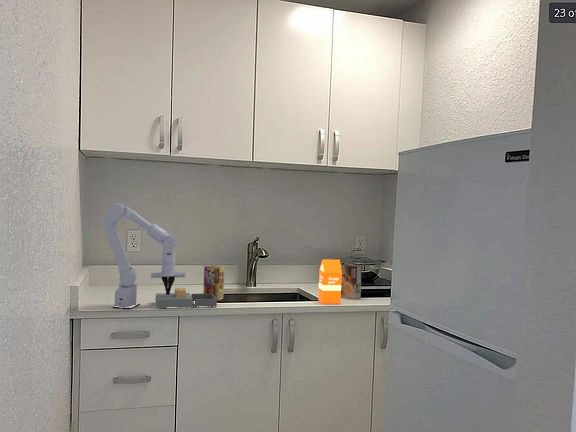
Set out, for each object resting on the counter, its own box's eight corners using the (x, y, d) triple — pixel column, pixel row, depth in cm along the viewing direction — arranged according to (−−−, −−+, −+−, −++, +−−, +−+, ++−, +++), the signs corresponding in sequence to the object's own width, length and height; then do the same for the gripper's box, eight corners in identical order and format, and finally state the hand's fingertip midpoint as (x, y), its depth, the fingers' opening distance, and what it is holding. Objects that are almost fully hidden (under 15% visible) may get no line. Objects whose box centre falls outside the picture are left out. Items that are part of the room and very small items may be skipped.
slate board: (157, 309, 213) (157, 299, 213) (155, 302, 226) (155, 293, 226) (192, 308, 218) (192, 298, 218) (188, 301, 230) (188, 292, 230)
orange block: (176, 297, 219) (176, 290, 219) (174, 294, 225) (175, 287, 224) (185, 297, 220) (185, 290, 220) (184, 294, 226) (184, 287, 226)
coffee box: (361, 297, 254) (362, 265, 253) (356, 299, 248) (357, 266, 248) (344, 295, 259) (345, 263, 258) (339, 297, 253) (340, 264, 252)
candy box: (223, 299, 238) (224, 266, 237) (218, 300, 234) (219, 267, 233) (208, 296, 242) (209, 264, 241) (202, 298, 238) (203, 265, 238)
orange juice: (318, 299, 244) (319, 258, 243) (335, 299, 246) (337, 258, 245) (322, 303, 237) (324, 260, 236) (340, 303, 238) (342, 260, 238)
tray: (192, 307, 218) (193, 299, 218) (189, 301, 230) (189, 293, 230) (216, 307, 221) (216, 299, 221) (211, 300, 233) (212, 293, 233)
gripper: (151, 264, 214) (150, 296, 215) (186, 264, 218) (185, 295, 219) (150, 262, 221) (150, 293, 221) (184, 261, 225) (184, 292, 226)
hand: (167, 294), depth 221 cm, fingers closed
